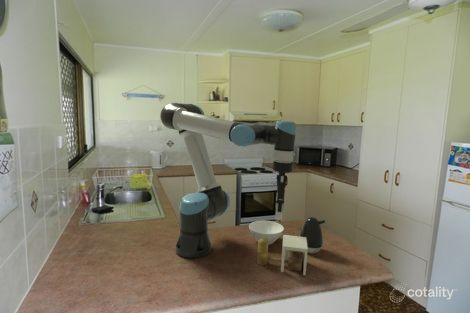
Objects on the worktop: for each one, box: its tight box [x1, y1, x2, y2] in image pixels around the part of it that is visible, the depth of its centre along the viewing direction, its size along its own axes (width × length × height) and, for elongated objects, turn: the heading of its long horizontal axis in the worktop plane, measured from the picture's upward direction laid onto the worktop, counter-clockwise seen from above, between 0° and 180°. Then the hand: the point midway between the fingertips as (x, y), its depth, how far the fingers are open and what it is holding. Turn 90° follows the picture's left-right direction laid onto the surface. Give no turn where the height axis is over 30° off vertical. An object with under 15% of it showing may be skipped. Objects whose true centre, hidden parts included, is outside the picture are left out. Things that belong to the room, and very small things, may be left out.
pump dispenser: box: [299, 216, 326, 254], centre depth 122 cm, size 10×10×15 cm
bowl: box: [248, 220, 285, 246], centre depth 131 cm, size 16×16×7 cm
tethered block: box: [256, 239, 303, 272], centre depth 110 cm, size 17×5×9 cm, turn 79°
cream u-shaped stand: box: [280, 234, 308, 276], centre depth 109 cm, size 9×10×10 cm
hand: (278, 213), depth 113 cm, fingers open, 13 cm apart
